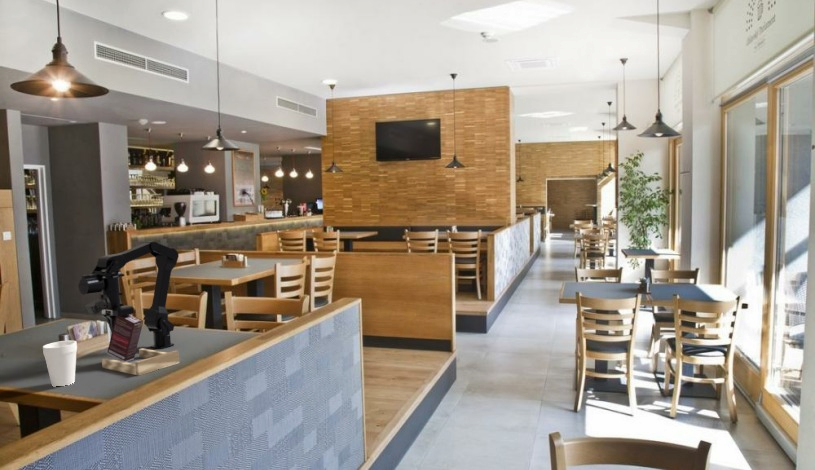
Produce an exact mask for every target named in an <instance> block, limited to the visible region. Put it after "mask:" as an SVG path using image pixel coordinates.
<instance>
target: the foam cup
mask: <svg viewBox="0 0 815 470" xmlns="http://www.w3.org/2000/svg"><path fill="white" fill-rule="evenodd" d="M42 351H43V354H42V355H43V356H44V358H45V363H46V367H47V372H48V375H49V380H50V383H51V386H53V388H57V387H56V386H64V387H66V386H65V385H68V386H70V384H71V385H73V384H75V383H74V382H75V381H76V368H77V366H76V365H77V351H78V343H77V340H60V341H55V342H50V343H46V344H44V345H42ZM72 383H73V384H72Z"/></svg>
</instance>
